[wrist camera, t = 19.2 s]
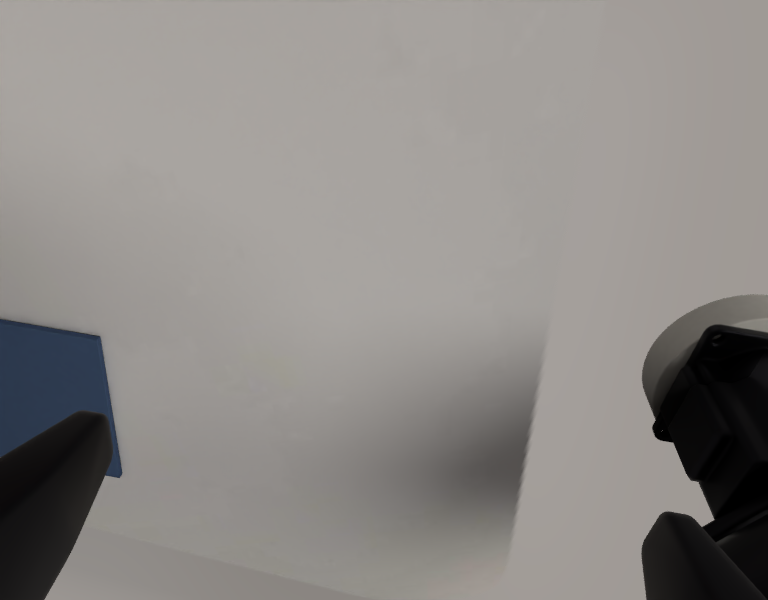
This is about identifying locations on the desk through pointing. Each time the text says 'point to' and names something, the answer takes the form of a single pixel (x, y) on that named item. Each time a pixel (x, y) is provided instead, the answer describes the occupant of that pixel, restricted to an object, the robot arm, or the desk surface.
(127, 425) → the desk surface
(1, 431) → the blue mat
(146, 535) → the desk surface
